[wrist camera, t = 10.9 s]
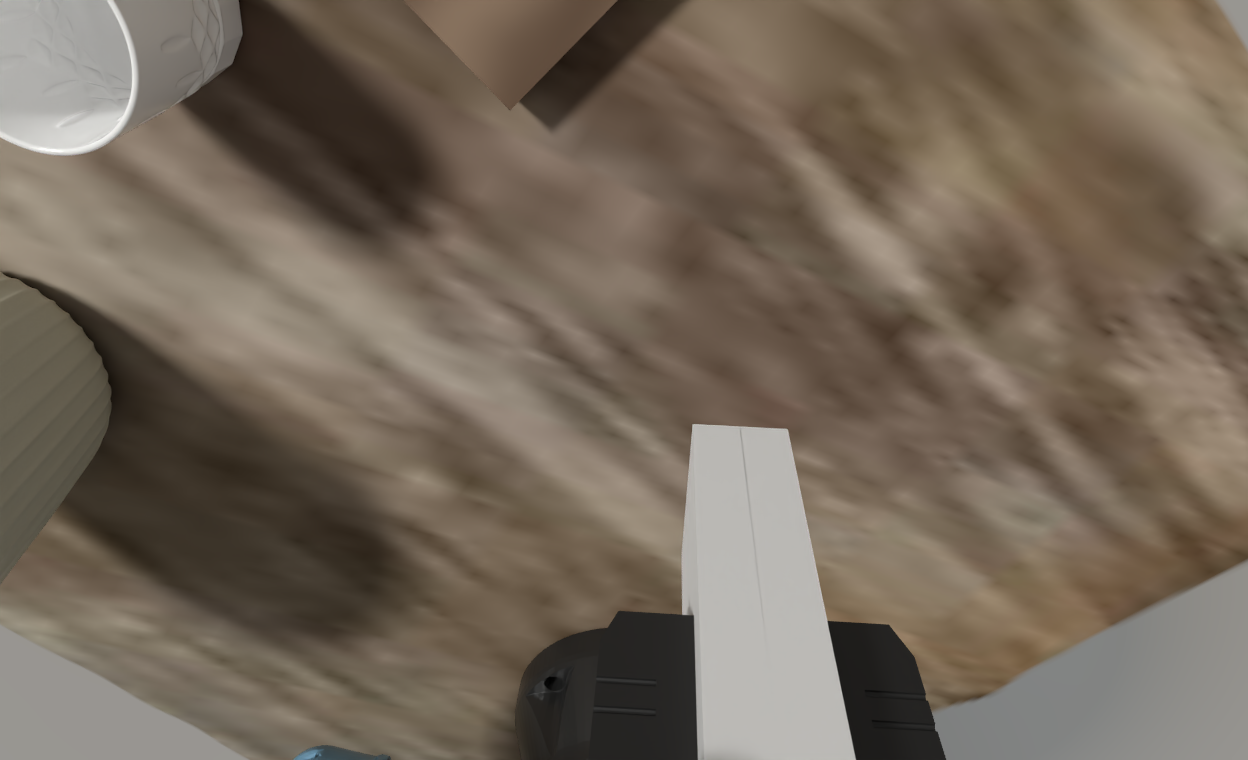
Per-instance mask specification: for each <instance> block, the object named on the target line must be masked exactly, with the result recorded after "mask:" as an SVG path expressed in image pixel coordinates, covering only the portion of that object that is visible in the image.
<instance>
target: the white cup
mask: <svg viewBox="0 0 1248 760" xmlns="http://www.w3.org/2000/svg"><path fill="white" fill-rule="evenodd" d="M242 35H243V31H242V23H241V14H240V6H239V0H0V137H1V138H2V139H4V140H6V141H8V142H10V143H12V144H15V145H17V146H20V147H22V148H25V149H28V150H31V151H34V152H38V153H43V154H49V155H58V156H70V155H79V154H84V153H88V152H92V151H94V150H97V149H99V148H101V147H103V146H105V145H107V144H108V143H110V142H112V141H114V140H115V139H117V138H119V137H121V136H122V135H124V134H126V133H128V132H129V131H131V130H133V129H135V128H137V127H139V126H140V125H142V124H144V123H146V122H148V121H149V120H151V119H153V118H155V117H157V116H158V115H160V114H162V113H163V112H165V111H166V110H167V109H169V108H171V107H173V106H174V105H176V104H177V103H179V102H181V101H182V100H184V99H185V98H187V97H189V96H190V95H192V94H193V93H195V92H196V91H198V90H199V89H200V87H202V86H204V85H205V84H207V83H209V82H210V81H212V80H213V79H214V78H215V77H217V76H218V75H219V74H220V73H222V72H223V71H224V70H225V69H227V68H228V67H229V66H230V65H232V63H233V61H234V58H235V55H236V52H237V49H238V47H239V44H240V41H241V38H242Z"/></svg>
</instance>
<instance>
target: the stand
mask: <svg viewBox="0 0 1248 760" xmlns="http://www.w3.org/2000/svg"><path fill="white" fill-rule="evenodd" d="M403 1H404V2H405V3H406V4H407V5H408V6H409V7H410V8H411V9H412V10H413V11H414V12H415V13H416V14H417V15H418V16H419V17H420V18H421V19H422V20H423V21H424V22H425V23H426V24H427V25H428V26H429V27H430V28H431V30H432V31H433V32H434V33H435V34H436V35H437V36H438V37H439V38H440V39H441V40H442V41H443V42H444V43H445V44H446V45H447V46H448V47H449V48H450V49H451V50H452V51H453V52H454V53H455V54H456V55H457V56H458V57H459V58H460V59H461V60H462V61H463V62H464V64H465V65H466V66H467V67H468V68H469V69H470V70H471V71H472V72H473V73H474V74H475V75H476V76H477V77H478V78H479V79H480V80H481V81H482V82H483V83H484V84H485V85H486V86H487V87H488V88H489V89H490V90H491V91H492V92H493V93H494V94H495V95H496V96H497V98H498V99H499V100H500V101H501V102H502V103H503V104H504V105H505V106H506V107H507V108H508V109H509V110H511V109H512V108H513V107H514V106H515V105H516V104H517V103H518V102H519V101H520V100H521V99H522V98H523V97H524V96H525V95H526V94H527V92H528V91H529V90H530V89H531V88H532V87H533V86H534V85H535V84H536V83H537V82H538V81H539V80H540V79H541V78H542V77H543V76H544V75H545V74H546V73H547V72H548V71H549V70H550V69H551V68H552V67H553V66H554V65H555V64H556V63H557V62H558V61H559V60H560V59H561V58H562V57H563V56H564V55H565V54H566V53H567V52H568V50H569V49H570V48H571V47H572V46H573V45H574V44H575V43H576V42H577V41H578V40H579V39H580V38H581V37H582V36H583V35H584V34H585V33H586V32H587V31H588V30H589V29H590V28H591V27H592V26H593V25H594V24H595V23H596V22H597V21H598V20H599V19H600V18H601V17H602V16H603V15H604V14H605V13H606V12H607V11H608V10H609V8H610V7H611V6H612V5H613V4H614V3H615V2H616V1H617V0H403Z"/></svg>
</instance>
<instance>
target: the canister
mask: <svg viewBox="0 0 1248 760" xmlns="http://www.w3.org/2000/svg"><path fill="white" fill-rule="evenodd" d="M110 398H111V387H110V385H109V383H108V373H107V371H106V370H105V369H104V366H103V363H102V357H101V356H100V355H99V354H98V353H97V352H96V350H95V348H94V343H93V342H92V341H91V340H90V339H89V338H88V337H87V336H86V335H85V333H84V331H83V328H82V327H81V326H79V325H78V324H76V323H75V322H74V321H73V320H72V318H71V317H70V314H69V313H66V312H65V311H63V310H62V309H61V308H60V307H59V306H58V305H57V304H56V303H55V301H53V300H50V299H48V298H46V297H45V296H43V295H42V294H41V293H40V292H39V290H37V289H35V288H31V287H29V286H27V285H25V284H24V283H23V282H22V281H21V280H19V279H15V278H10V277H7V276H5V275H4V274H3V273H1V272H0V584H1V583H2V582H3V580H4V579H5V578H6V576H7V575H8V574H9V572H10V571H11V570H12V568H13V567H14V566H15V564H16V563H17V562H18V560H19V559H20V558H21V556H22V555H23V554H24V552H25V551H26V550H27V548H28V547H29V546H30V544H31V543H32V542H33V540H34V539H35V538H36V537H37V535H38V534H39V533H40V531H41V530H42V529H43V527H44V526H45V525H46V523H47V522H48V521H49V519H50V518H51V517H52V515H53V514H54V512H55V511H56V510H57V508H58V507H59V506H60V504H61V503H62V502H63V500H64V499H65V497H66V496H67V495H68V493H69V492H70V490H71V489H72V487H73V486H74V485H75V483H76V482H77V480H78V479H79V477H80V476H81V475H82V473H83V472H84V470H85V469H86V467H87V466H88V465H89V463H90V462H91V460H92V459H93V457H94V456H95V454H96V452H97V451H98V449H99V447H100V445H101V442H102V439H103V437H104V435H105V433H106V431H107V428H108V425H109V417H110V414H111V409H112V404H111V400H110Z"/></svg>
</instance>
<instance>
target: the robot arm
mask: <svg viewBox="0 0 1248 760" xmlns="http://www.w3.org/2000/svg"><path fill="white" fill-rule="evenodd" d="M925 695H926V693H925V690H924V687H923V683H922V680H921V677H920V674H919V670H918V667H917V664H916V661H915V657H914V656H913V655H912V653H911V652H910V651H909V650H908V648H907V647H906V646H905V645H904V643H903V642H902V641H901V640H900V638H899V637H898V636H897V635H896V633H895V632H894V631H893V630H892V628H891V627H890V626H889V625H885V624H868V623H851V622H834V621H827V618H826V613H825V608H824V603H823V598H822V593H821V589H820V584H819V579H818V574H817V569H816V564H815V559H814V555H813V550H812V545H811V540H810V535H809V530H808V526H807V521H806V516H805V511H804V506H803V501H802V496H801V492H800V487H799V482H798V477H797V472H796V467H795V463H794V458H793V453H792V448H791V443H790V438H789V433H788V429H776V428H757V427H738V426H719V425H700V424H693V427H692V438H691V450H690V462H689V474H688V485H687V497H686V509H685V521H684V533H683V544H682V615H677V614H660V613H643V612H626V611H618V613H617V614H616V616H615V617H614V619H613V621H612V622H611V624H610V625H609V627H608V628H605V629H596V630H590V631H585V632H581V633H578V634H574V635H571V636H569V637H566V638H564V639H562V640H559V641H557V642H556V643H554V644H552V645H550V646H549V647H547V648H546V649H544V650H543V651H542V652H541V653H539V654H538V655H537V656H536V657H535V658H534V659H533V661H532V662H531V663H530V664H529V666H528V667H527V669H526V670H525V672H524V675H523V677H522V680H521V683H520V688H519V693H518V699H517V704H516V710H515V726H516V732H517V738H518V744H519V750H520V755H521V760H946V758H945V755H944V751H943V748H942V745H941V742H940V738H939V735H938V732H936V731H935V722H934V719H933V716H932V712H931V709H930V706H929V703H928V701H926V698H925ZM293 760H391V758H390V756H387V755H383V754H382V755H379V756H373V755H369V754H364V753H360V752H355V751H351V750H347V749H343V748H339V747H335V746H329V745H321V746H315V747H312V748H310V749H307V750H305V751H304V752H302V753H301V754H299V755H298V756H297V757H295V758H294V759H293Z"/></svg>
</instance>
